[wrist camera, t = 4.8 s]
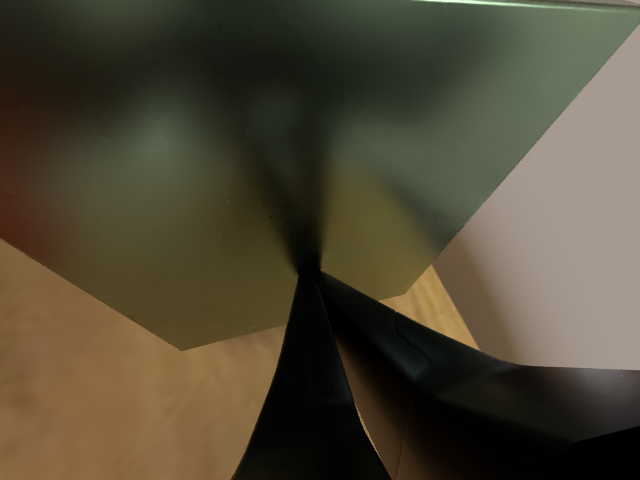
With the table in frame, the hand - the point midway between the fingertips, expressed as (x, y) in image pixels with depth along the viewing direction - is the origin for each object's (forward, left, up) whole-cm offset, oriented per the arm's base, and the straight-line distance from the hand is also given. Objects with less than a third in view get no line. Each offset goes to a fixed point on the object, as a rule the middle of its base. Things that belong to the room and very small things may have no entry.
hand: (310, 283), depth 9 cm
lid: (+1, -1, +1) cm, 2 cm away
